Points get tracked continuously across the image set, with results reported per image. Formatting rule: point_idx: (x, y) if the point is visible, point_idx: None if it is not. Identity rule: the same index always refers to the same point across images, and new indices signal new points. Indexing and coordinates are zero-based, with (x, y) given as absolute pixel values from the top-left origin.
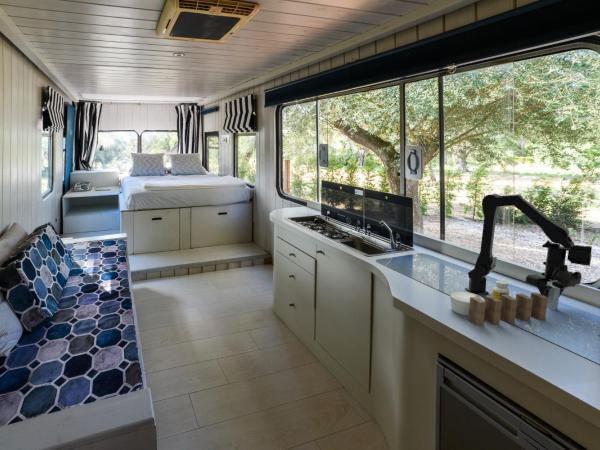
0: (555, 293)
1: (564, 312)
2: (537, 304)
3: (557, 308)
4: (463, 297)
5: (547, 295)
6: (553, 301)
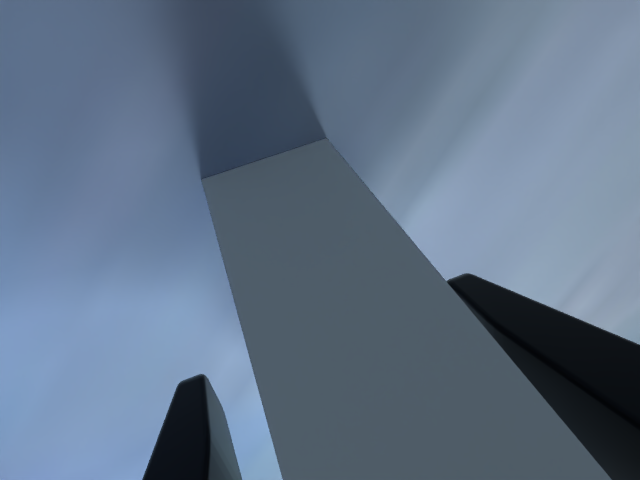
0: (537, 461)
1: (108, 11)
2: None
3: (204, 191)
4: None
5: (621, 375)
6: (407, 238)
